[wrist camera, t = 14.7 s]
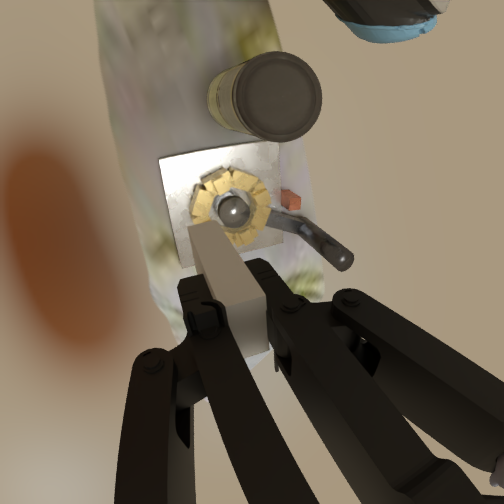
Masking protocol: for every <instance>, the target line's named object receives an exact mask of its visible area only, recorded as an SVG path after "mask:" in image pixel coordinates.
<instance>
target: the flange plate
mask: <svg viewBox="0 0 504 504" xmlns="http://www.w3.org/2000/svg"><path fill="white" fill-rule="evenodd" d="M159 163H160V168H161V174H162V179H163V184H164V190H165V195H166V200H167V205H168V210H169V214H170V219H171V224H172V228H173V233H174V237H175V242H176V246H177V250H178V254H179V259H180V263H181V266H182V268H186V267H190V266H194V265H195V262H194V257H193V253H192V248H191V243H190V238H189V233H188V228H187V226H191V225H194V223H193V221H192V219H191V217H190V215H189V214H191V212H190V210H189V207H190V204H191V200H192V197H193V194H194V191H195V188H196V185H200V186H204V185H203V183H202V181H201V179H203V178H205V177H207V176H209V175H210V174H212V173H214V172H216V171H218V170H220V169H222V168H225V169H227V170H228V171H229V168H230V167H233V168H236V169H239V170H242V171H245V172H248V173H252V174H254V175H255V176H257V177H258V179H260V180H261V181H263V183H264V185H265V188H266V189H267V190H268V193H269V195H270V198H271V199H270V200H271V202H272V203H271V204H269V205H268V206H269V207H270V208H271V210H272V211H276V212H279V213H282V206H284V207H285V208H286V209H288V210H289V211H291V210H299V209H300V207H301V197H300V196H298V195H296V194H295V193H293V192H292V191H290V190H281V179H280V161H279V144H278V142H270V141H266V140H261V141H253V142H246V143H239V144H232V145H226V146H220V147H214V148H208V149H202V150H197V151H192V152H187V153H181V154H177V155H172V156H167V157H163V158H159ZM229 189H230V190H229V191H227V192H226V193H224V194H222V195H219V194H218V195H217V196H215V197H214V200H213V203H212V206H211V209H210V212H209V217H210V219H211V221H212V220H217V222H218V223H219V225H220V226H224V227H229V228H239V227H241V226H243V225H244V224H245V223H246V222H247V221H248V219H249V217H250V208H249V207H250V204H251V201H250V199H249V197H248V195H247V192H246V191H245V190H241V189H238V188H234V187H231V188H229ZM256 231H257V233H258V235H259V236H257V237H255V238H253V239H254V241H253V242H252V243H250V244H248V245H246V246H245V245H244V244H243V245H241V246H239V247H238V248H237V246H236V245H235V243H234V244H233V246H234V248H235V249H236V251H237V252H238V254H241V253H245V252H249V251H253V250H256V249H260V248H264V247H268V246H272V245H276V244H280V243H283V230H279V229H275V228H271V227H267V226H265V227H264V229H263V231H260V230H256Z"/></svg>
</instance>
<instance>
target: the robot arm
mask: <svg viewBox="0 0 504 504" xmlns="http://www.w3.org/2000/svg"><path fill="white" fill-rule="evenodd" d="M323 1H324V2H325V3H326V4H327V5H328V6H329V7H330V9H331V10H332V11H333V12H334V13H335V16H336V17H337V18H338V19H339V20H340V21H342V22H343V23H345V24H346V25H347V27H348V28H349V29H350V30H351V31H352V32H353V33H354V34H355V35H356V36H357V37H359V38H361V39H363V40H366V41H368V42H372V43H395V42H402V41H406V40H410V39H413V38H416V37H419V34H422V33H423V34H425V33H427V32H429V31H431V30H432V29H433V28H434V27H435V25H436V23H437V16H436V15H437V14H441V13H444V12H446V10H447V6H448V4H449V1H450V0H323ZM187 228H188V233H189V238H190V243H191V248H192V253H193V257H194V262H195V267H196V271H197V274H198V275H195V276H191V277H187V278H183V279H180V281H179V284H178V286H177V289H178V294H179V298H180V302H181V306H182V310H183V319H184V323H185V326H186V329H187V336H186V337H185V339H184V341H183V342H182V343H181V344H180V345H178V346H177V347H175V348H174V349H172V350H170V351H166V350H164V349H162V348H152V349H148V350H146V351H144V352H142V353H140V354H139V355H138V356H137V357H136V359H135V361H134V363H133V367H132V372H131V377H130V382H129V387H128V394H127V398H126V404H125V411H124V417H123V424H122V430H121V438H120V445H119V453H118V462H117V472H116V483H115V497H114V504H196V493H195V470H194V404H195V403H197V402H198V401H200V400H202V399H203V398H205V397H208V400H209V403H210V406H211V409H212V412H213V415H214V418H215V420H216V423H217V426H218V429H219V432H220V434H221V437H222V440H223V442H224V445H225V448H226V450H227V453H228V456H229V458H230V461H231V463H232V466H233V468H234V471H235V473H236V475H237V478H238V480H239V482H240V485H241V487H242V490H243V492H244V494H245V496H246V499H247V501H248V503H249V504H319V502H318V500H317V498H316V497H315V495H314V493H313V492H312V490H311V488H310V486H309V485H308V483H307V481H306V479H305V478H304V476H303V474H302V472H301V470H300V468H299V467H298V465H297V463H296V461H295V459H294V457H293V456H292V454H291V452H290V450H289V448H288V446H287V444H286V442H285V441H284V439H283V437H282V435H281V433H280V431H279V429H278V427H277V425H276V423H275V421H274V419H273V417H272V415H271V413H270V411H269V409H268V407H267V406H266V403H265V401H264V399H263V397H262V395H261V393H260V391H259V389H258V387H257V385H256V383H255V381H254V379H253V377H252V375H251V373H250V370H249V368H248V366H247V364H246V362H245V360H244V358H247V357H250V356H253V355H256V354H259V353H262V352H265V351H268V350H269V342H270V344H271V345H272V347H273V349H274V363H275V371H276V372H278V371H279V368H280V369H281V371H282V373H283V375H284V376H285V378H286V380H287V381H288V383H289V385H290V387H291V388H292V390H293V392H294V394H295V395H296V397H297V399H298V401H299V402H300V404H301V406H302V408H303V409H304V411H305V412H306V414H307V416H308V418H309V419H310V421H311V422H312V424H313V426H314V428H315V429H316V431H317V433H318V434H319V436H320V438H321V439H322V441H323V443H324V444H325V446H326V448H327V449H328V451H329V453H330V454H331V456H332V457H333V459H334V461H335V462H336V464H337V465H338V467H339V469H340V470H341V472H342V474H343V475H344V477H345V478H346V480H347V482H348V483H349V485H350V486H351V488H352V489H353V491H354V493H355V494H356V496H357V497H358V499H359V500H360V502H361V504H504V496H493V495H481V494H480V492H479V491H478V490H477V488H476V487H475V486H474V484H473V483H472V482H471V481H470V479H469V478H468V477H467V476H466V474H465V473H464V472H463V471H462V469H461V468H460V467H459V466H458V465H457V464H456V463H454V462H453V461H451V460H449V459H441V458H437V457H436V456H435V455H433V454H432V452H431V451H430V450H429V448H428V447H427V446H426V445H425V444H424V442H423V441H422V440H421V438H420V437H419V436H418V435H417V433H416V432H415V431H414V430H413V428H412V427H411V426H410V425H409V423H408V422H407V421H406V419H405V418H404V417H403V416H405V417H406V418H407V419H408V420H410V421H411V422H412V423H414V424H415V425H416V426H418V427H419V428H420V429H422V430H423V431H424V432H425V433H427V434H428V435H430V436H431V437H432V438H433V439H435V440H436V441H437V442H439V443H440V444H442V445H443V446H444V447H446V448H447V449H448V450H450V451H451V452H452V453H454V454H455V455H456V456H458V457H459V458H461V459H462V460H464V461H465V462H467V463H468V464H470V465H471V466H473V467H476V468H478V469H480V470H483V471H486V472H491V473H492V474H491V476H490V484H491V485H492V486H494V487H496V486H498V485H499V486H500V487H502V488H504V382H502V381H501V380H499V379H498V378H496V377H495V376H493V375H492V374H490V373H489V372H488V371H486V370H484V369H483V368H481V367H480V366H478V365H477V364H475V363H474V362H472V361H471V360H469V359H468V358H466V357H465V356H463V355H462V354H460V353H459V352H457V351H456V350H454V349H452V348H451V347H449V346H448V345H446V344H445V343H443V342H442V341H440V340H439V339H437V338H435V337H434V336H432V335H431V334H429V333H428V332H426V331H424V330H423V329H421V328H420V327H418V326H417V325H415V324H413V323H412V322H410V321H408V320H407V319H405V318H404V317H402V316H400V315H399V314H398V313H396V312H394V311H393V310H391V309H389V308H388V307H386V306H385V305H383V304H381V303H380V302H378V301H377V300H375V299H373V298H372V297H370V296H368V295H367V294H365V293H364V292H362V291H359V290H357V289H351V288H347V289H342V290H339V291H337V292H336V293H335V294H334V295H333V299H332V301H330V302H319V303H312V302H310V301H309V300H308V299H306V298H305V297H304V296H301V295H298V294H293V292H292V291H291V290H290V289H289V287H288V286H287V285H286V283H285V282H284V281H283V280H282V278H281V277H280V276H278V273H277V272H276V271H275V270H274V268H273V267H272V266H271V265H270V263H269V262H267V261H265V260H263V259H261V258H256V259H253V260H249V261H245V262H244V261H243V260H242V258H241V257H240V255H239V254H238V252H237V251H236V249H235V248H234V246H233V245H232V243H231V242H230V240H229V239H228V237H227V236H226V234H225V233H224V231H223V230H222V228H221V226H220V225H219V223H218V222H217V220H212V221H208V222H204V223H200V224H195V225H191V226H187ZM361 337H362V338H364V339H365V340H364V339H362V338H361ZM278 366H279V367H278ZM402 415H403V416H402Z"/></svg>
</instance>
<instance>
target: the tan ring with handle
mask: <svg viewBox="0 0 504 504" xmlns="http://www.w3.org/2000/svg"><path fill="white" fill-rule="evenodd" d="M201 181H202V183H203V185H204V186H200V185H196V188H195V191H194V194H193V197H192V200H191V204H190V207H189V210H190V212H191V214H189V215H190V217H191V219H192V221H193V223H194V225H195V224H200V223H204V222H208V221H211V219H210V217H209V212H210V209H211V206H212V203H213V200H214V197H215V196H217V195H218V194H219V195H222V194H224V193H226V192H227V191H229V190H230V189H229V188H231V187H234V188H238V189H241V190H245V191H246V192H247V195H248V197H249V199H250V201H251V204H250V207H249V208H250V217H249V219H248V221H247V222H246V223H245V224H244V225H243V226H241V227H239V228H229V227H224V226H221V228H222V230H223V231H224V233H225V234H226V236H227V237H228V239H229V240H230V242H231V243H232V245H233V244H234V243H235V245H236V246H237V248H238V247H239V246H241V245H243V244H244V245H245V246H246V245H248V244H250V243H252V242H253V241H254V239H253V238H255V237H257V236H259V235H258V233H257V231H256V230H260V231H263V229H264V227H265V226H267V227H271V228H275V229H279V230H283V231H287V232H291V233H295V234H298V235H299V236H300V237H301V238H302V239H304V240H305V241H306V242H307V243H308V244H309V245H310V246H312V247H313V248H314V249H315V250H316V251H317V252H318V253H319V254H320V255H322V256H323V257H324V258H325V259H326V260H327V261H328V262H330V264H332V265H333V266H334V267H335V268H336V269H337V270H338V271H341V272H342V271H346V270H347V269H349V268H350V267H351V265H352V264H353V261H354V255H353V253H352V252H351V251H349V250H348V249H347V248H345V247H344V246H343V245H342V244H340V243H339V242H338V241H336V240H335V239H334V238H332V237H331V236H330V235H329V234H327V233H326V232H325V231H323V230H322V229H321V228H319V227H318V226H317V225H315V224H314V223H313V222H311V221H310V220H309V219H307V218H306V217H300V218H296V217H293V216H289V215H286V214H283V213H279V212H276V211H272V210H271V208H270V207H269V206H268V205H269V204H271V203H272V202H271V200H270V199H271V198H270V195H269V193H268V190H267V189H266V188H265V185H264V183H263V181H261V180H260V179H258V177H257V176H255V175H254V174H252V173H248V172H245V171H242V170H239V169H236V168H233V167H230V168H229V171H228V170H227V169H225V168H222V169H220V170H218V171H216V172H214V173H212V174H210V175H209V176H207V177H205V178H203V179H201Z"/></svg>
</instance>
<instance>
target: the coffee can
mask: <svg viewBox="0 0 504 504" xmlns="http://www.w3.org/2000/svg"><path fill="white" fill-rule="evenodd" d="M207 105H208V109H209V112H210V114H211V115H212V117H213V118H214V120H215V121H216V122H217V123H219V124H220V125H221V126H223V127H224V128H227V129H229V130H233V131H238V132H242V133H246V134H249V135H253V136H256V137H258V138H260V139H263V140H266V141H270V142H288V141H292V140H295V139H297V138H299V137H301V136H303V135H304V134H305V133H307V132H308V131H309V130H310V129H311V127H312V126H313V125H314V124H315V122H316V120H317V119H318V116H319V114H320V111H321V106H322V90H321V86H320V83H319V80H318V78H317V76H316V74H315V73H314V71H313V70H312V69H311V67H310V66H309V65H308V64H307V63H306V62H304V61H303V60H301V59H300V58H299V57H297V56H295V55H292V54H290V53H286V52H279V51H273V52H266V53H263V54H260V55H258V56H256V57H254V58H252V59H250V60H248V61H246V62H243V63H241V64H239V65H237V66H234V67H232V68H229V69H227V70H225V71H223V72H221V73H220V74H218V75H217V76H216V77H215V78H214V80H213V81H212V83H211V84H210V86H209V89H208V93H207Z"/></svg>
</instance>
